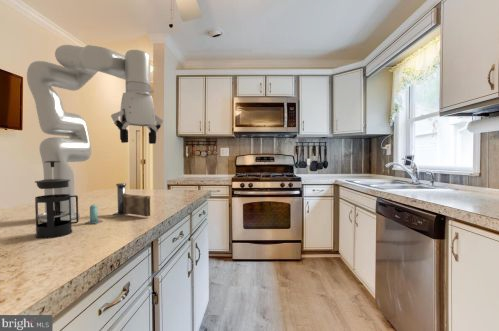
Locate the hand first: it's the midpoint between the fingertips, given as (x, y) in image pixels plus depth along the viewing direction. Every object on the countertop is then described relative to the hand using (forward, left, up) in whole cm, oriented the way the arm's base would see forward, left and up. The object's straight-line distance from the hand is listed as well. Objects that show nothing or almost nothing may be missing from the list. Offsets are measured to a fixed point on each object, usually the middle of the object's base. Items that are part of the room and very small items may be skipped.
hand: (139, 143), depth 89 cm
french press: (-18, -17, -29) cm, 38 cm away
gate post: (-28, +11, -29) cm, 41 cm away
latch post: (-22, -4, -29) cm, 36 cm away
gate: (-19, +11, -28) cm, 35 cm away
